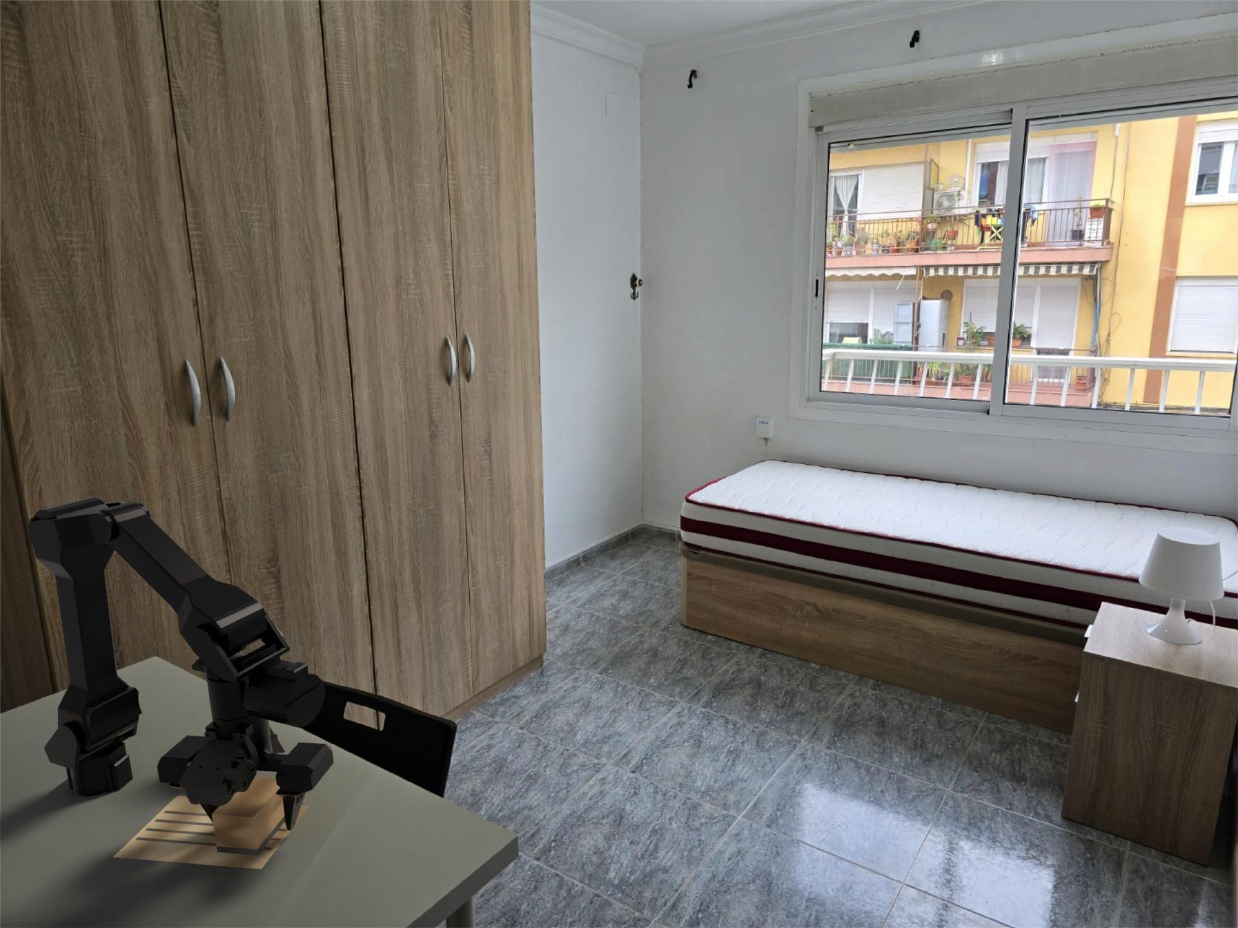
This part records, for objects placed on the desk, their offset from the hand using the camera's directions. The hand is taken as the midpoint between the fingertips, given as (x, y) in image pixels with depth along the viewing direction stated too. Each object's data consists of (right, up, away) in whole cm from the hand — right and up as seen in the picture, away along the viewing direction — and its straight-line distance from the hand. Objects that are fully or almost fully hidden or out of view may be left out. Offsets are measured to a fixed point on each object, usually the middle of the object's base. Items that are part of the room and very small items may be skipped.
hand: (254, 825), depth 92 cm
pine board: (-5, -2, +1) cm, 5 cm away
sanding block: (0, -1, 0) cm, 1 cm away
